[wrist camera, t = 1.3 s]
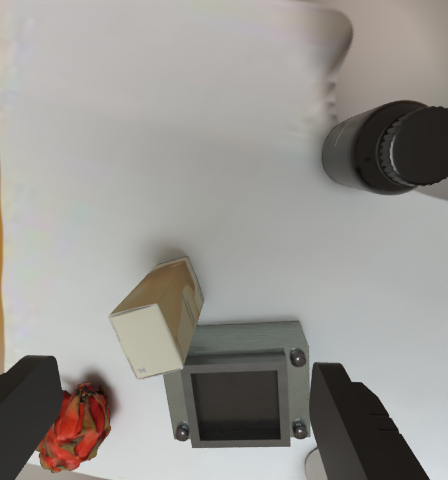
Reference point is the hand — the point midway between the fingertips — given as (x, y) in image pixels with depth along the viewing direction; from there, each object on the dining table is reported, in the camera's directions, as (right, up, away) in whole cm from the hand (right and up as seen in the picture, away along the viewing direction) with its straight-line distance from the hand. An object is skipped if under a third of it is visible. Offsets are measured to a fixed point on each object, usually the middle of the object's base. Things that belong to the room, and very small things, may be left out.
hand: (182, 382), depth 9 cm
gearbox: (+3, -12, +27) cm, 30 cm away
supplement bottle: (+15, +13, +20) cm, 28 cm away
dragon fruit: (-17, -18, +31) cm, 40 cm away
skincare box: (-4, -1, +25) cm, 25 cm away
